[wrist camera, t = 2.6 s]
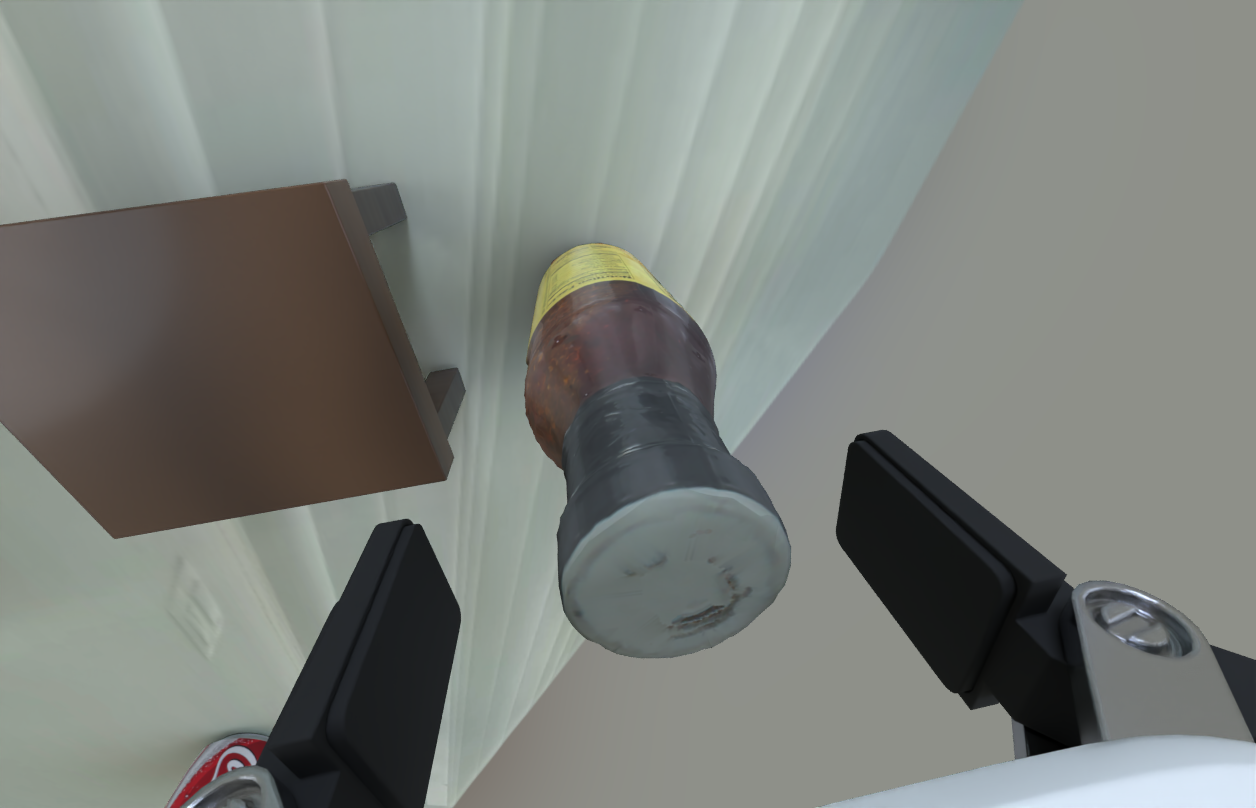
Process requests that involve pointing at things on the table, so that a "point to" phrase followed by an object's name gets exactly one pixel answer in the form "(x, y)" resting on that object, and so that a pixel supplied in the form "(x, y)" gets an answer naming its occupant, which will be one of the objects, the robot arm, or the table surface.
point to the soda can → (217, 763)
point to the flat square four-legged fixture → (217, 357)
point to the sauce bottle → (644, 465)
